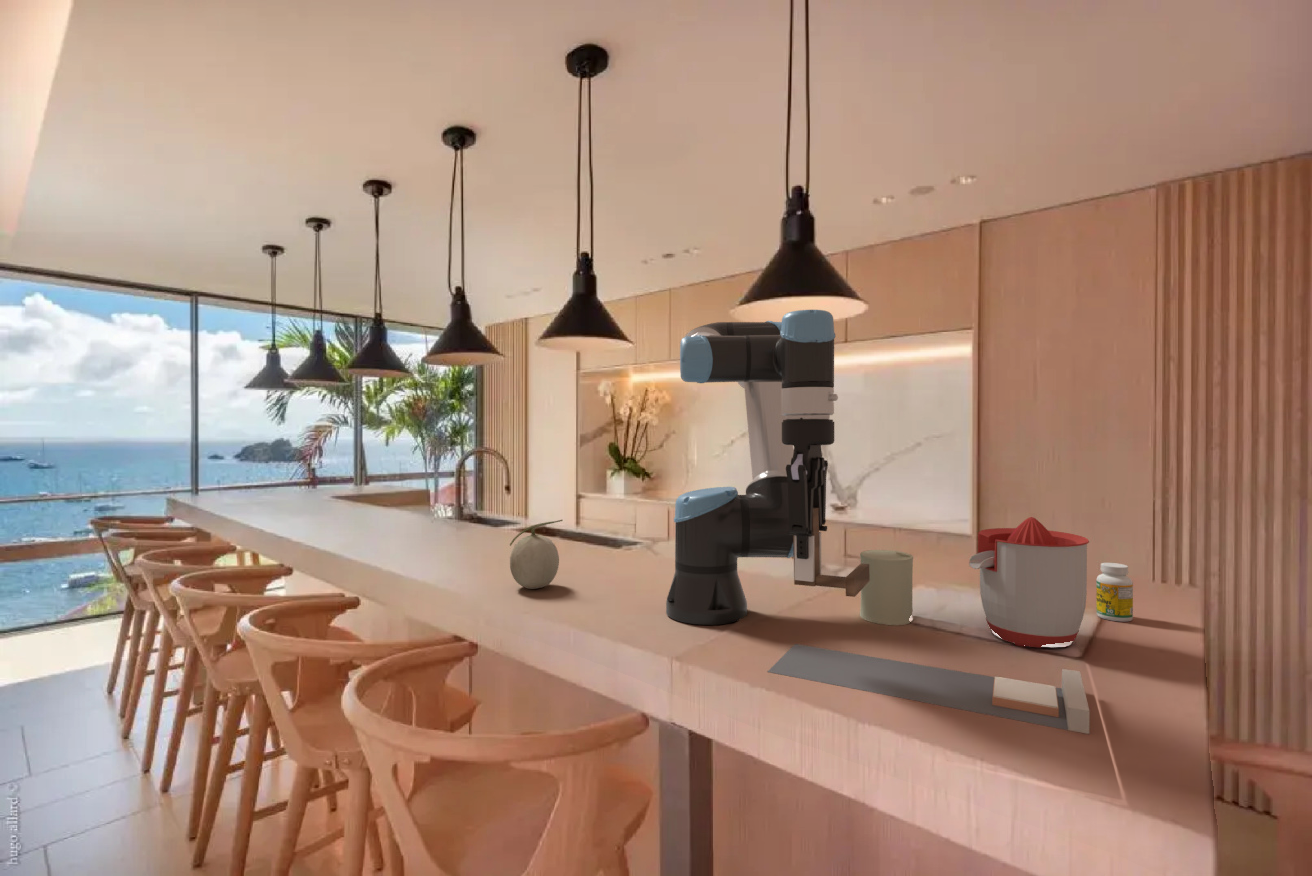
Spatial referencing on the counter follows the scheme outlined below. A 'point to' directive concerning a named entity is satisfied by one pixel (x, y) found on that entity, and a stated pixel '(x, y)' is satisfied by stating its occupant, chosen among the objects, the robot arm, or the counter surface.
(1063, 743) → the counter surface
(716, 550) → the robot arm
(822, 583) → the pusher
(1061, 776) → the counter surface
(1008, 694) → the tile
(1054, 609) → the citrus juicer
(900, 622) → the can
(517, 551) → the fruit
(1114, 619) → the supplement bottle
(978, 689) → the grey board
